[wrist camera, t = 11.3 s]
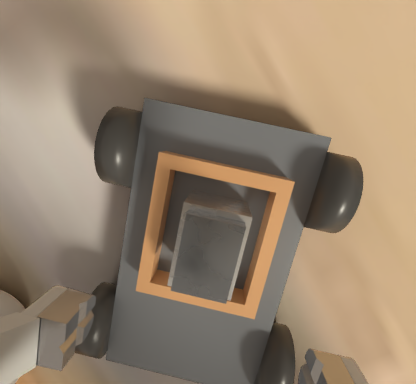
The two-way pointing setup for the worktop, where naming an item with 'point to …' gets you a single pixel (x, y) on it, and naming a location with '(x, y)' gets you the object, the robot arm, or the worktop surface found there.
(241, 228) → the grey wooden block
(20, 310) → the decorative ball
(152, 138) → the chassis
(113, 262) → the worktop surface
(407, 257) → the worktop surface
